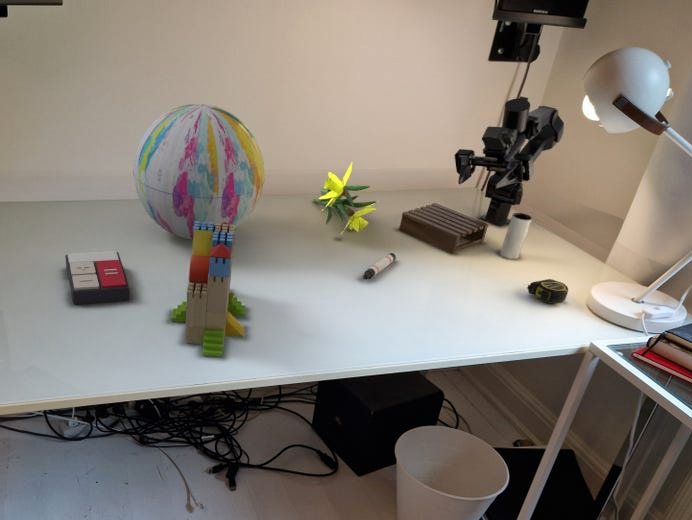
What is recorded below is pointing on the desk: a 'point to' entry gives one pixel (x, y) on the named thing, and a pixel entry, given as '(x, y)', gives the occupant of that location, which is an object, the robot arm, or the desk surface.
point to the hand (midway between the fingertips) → (476, 184)
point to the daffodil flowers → (344, 200)
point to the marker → (379, 266)
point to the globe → (198, 169)
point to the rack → (442, 227)
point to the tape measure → (549, 290)
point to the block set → (211, 290)
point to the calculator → (96, 277)
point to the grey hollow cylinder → (515, 235)
